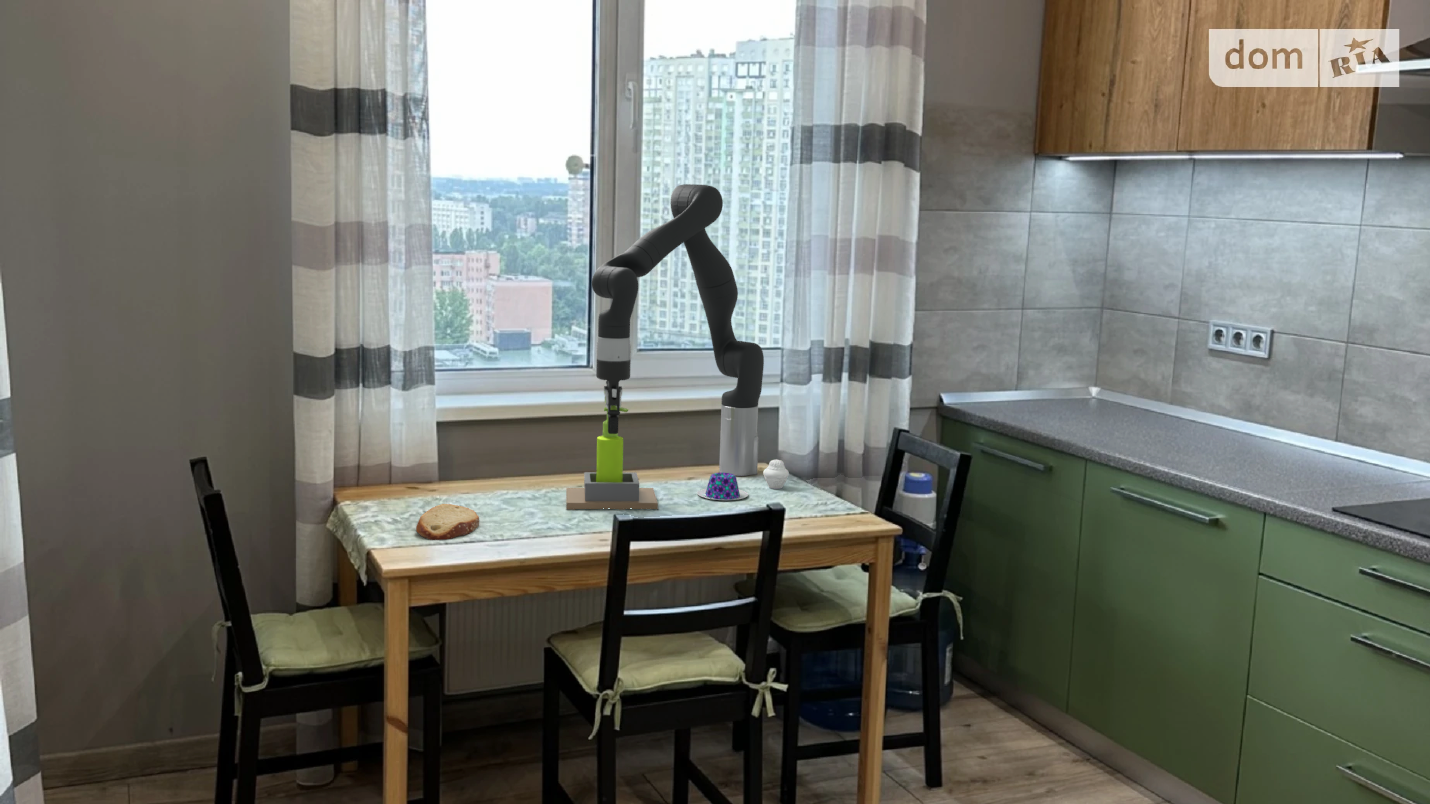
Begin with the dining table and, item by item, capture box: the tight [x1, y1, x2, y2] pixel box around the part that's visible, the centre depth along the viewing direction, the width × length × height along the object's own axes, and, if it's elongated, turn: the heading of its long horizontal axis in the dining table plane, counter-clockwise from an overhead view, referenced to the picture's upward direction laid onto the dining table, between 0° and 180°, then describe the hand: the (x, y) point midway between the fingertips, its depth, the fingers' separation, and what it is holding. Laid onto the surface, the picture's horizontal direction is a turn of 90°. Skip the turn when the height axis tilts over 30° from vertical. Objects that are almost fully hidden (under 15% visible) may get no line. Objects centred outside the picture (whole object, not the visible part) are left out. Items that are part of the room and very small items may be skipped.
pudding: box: [696, 472, 749, 501], centre depth 287 cm, size 12×12×5 cm
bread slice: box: [415, 503, 480, 541], centre depth 254 cm, size 18×18×4 cm
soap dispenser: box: [595, 406, 630, 482], centre depth 276 cm, size 6×7×20 cm
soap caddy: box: [565, 471, 659, 510], centre depth 277 cm, size 20×14×6 cm
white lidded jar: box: [762, 458, 790, 490], centre depth 296 cm, size 6×6×7 cm
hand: (612, 430), depth 275 cm, fingers open, 7 cm apart
